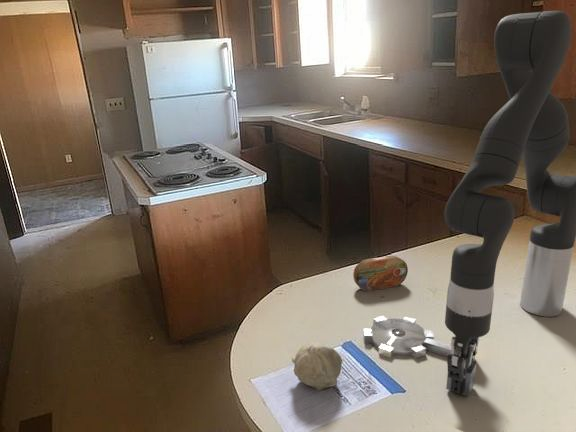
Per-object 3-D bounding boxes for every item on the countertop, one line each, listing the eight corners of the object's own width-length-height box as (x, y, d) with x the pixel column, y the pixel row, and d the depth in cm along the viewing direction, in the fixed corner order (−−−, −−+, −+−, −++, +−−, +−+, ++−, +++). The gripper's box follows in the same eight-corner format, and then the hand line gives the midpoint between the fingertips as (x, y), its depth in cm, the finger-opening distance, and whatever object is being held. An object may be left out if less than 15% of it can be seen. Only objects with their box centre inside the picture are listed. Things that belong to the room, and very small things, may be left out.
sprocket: (381, 317, 117) (381, 309, 116) (440, 334, 109) (441, 326, 109) (353, 347, 105) (353, 338, 105) (417, 368, 98) (418, 359, 97)
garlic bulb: (339, 393, 95) (358, 355, 91) (309, 408, 89) (328, 368, 85) (308, 360, 100) (324, 323, 96) (278, 372, 95) (294, 333, 90)
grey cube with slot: (452, 377, 93) (454, 354, 92) (474, 384, 91) (477, 361, 90) (446, 388, 90) (448, 365, 89) (468, 396, 88) (471, 373, 86)
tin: (356, 293, 129) (356, 264, 126) (351, 288, 132) (352, 259, 129) (407, 285, 132) (409, 256, 130) (401, 280, 135) (403, 252, 133)
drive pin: (426, 343, 105) (428, 319, 103) (474, 358, 100) (478, 333, 98) (422, 350, 103) (424, 325, 101) (471, 365, 98) (474, 339, 96)
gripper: (481, 329, 77) (471, 416, 83) (500, 292, 89) (490, 371, 94) (434, 316, 81) (427, 400, 87) (458, 282, 93) (451, 359, 98)
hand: (460, 385), depth 91 cm, fingers closed on grey cube with slot, 4 cm apart
